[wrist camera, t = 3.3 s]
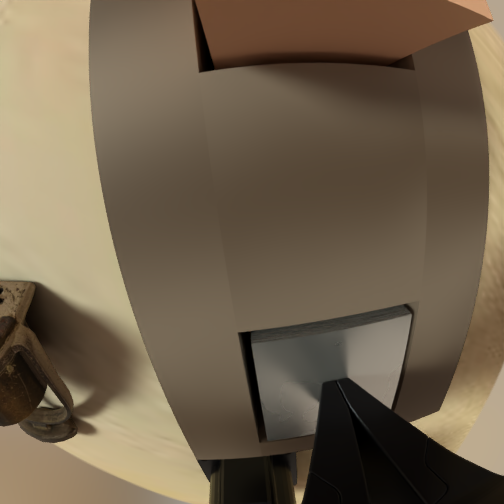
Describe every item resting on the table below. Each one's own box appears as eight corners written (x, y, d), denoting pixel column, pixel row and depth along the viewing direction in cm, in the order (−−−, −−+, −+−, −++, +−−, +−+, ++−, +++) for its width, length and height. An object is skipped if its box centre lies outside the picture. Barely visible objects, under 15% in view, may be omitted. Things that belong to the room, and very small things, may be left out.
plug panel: (395, 346, 14) (439, 410, 9) (205, 378, 14) (196, 459, 9) (373, -14, 8) (425, -66, 3) (142, -4, 8) (100, -65, 3)
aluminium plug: (350, 342, 13) (389, 415, 8) (258, 357, 13) (267, 441, 8) (353, 255, 12) (411, 314, 7) (246, 270, 12) (251, 343, 7)
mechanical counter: (79, 399, 8) (-113, 288, 4) (71, 508, 10) (-58, 449, 6) (105, 300, 14) (-37, 235, 10) (77, 431, 16) (-30, 384, 12)
